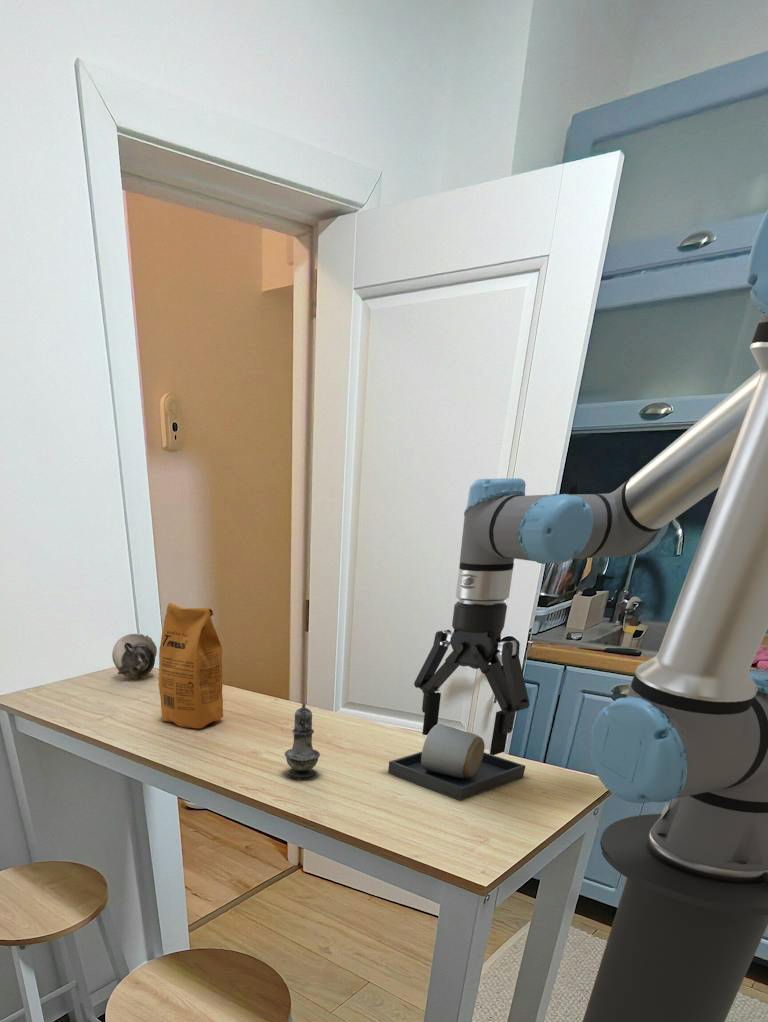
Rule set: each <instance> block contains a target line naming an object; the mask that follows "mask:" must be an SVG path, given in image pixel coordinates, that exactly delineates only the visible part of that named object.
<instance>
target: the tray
mask: <svg viewBox="0 0 768 1022" xmlns="http://www.w3.org/2000/svg"><path fill="white" fill-rule="evenodd" d="M421 756H422V751H419V752H416V753H412V754H409V755H406V756H402V757H400V758H396V759H393V760H390V761H388V769H387V770H388V771H387V773H388V774H390V775H393V776H395V777H398V778H400V779H403V780H405V781H408V782H410V783H413V784H416V785H419V786H421V787H424V788H426V789H429V790H432V791H434V792H437V793H438V794H441V795H444V796H447V797H449V798H452V799H455V800H457V801H463V800H466V799H469V798H472V797H474V796H477V795H479V794H482V793H485V792H487V791H490V790H492V789H495V788H499V787H501V786H503V785H507V784H509V783H511V782H514V781H516V780H519V779H521V778H524V776H525V770H526V765H524V764H522V763H518V762H515V761H513V760H510V759H505V758H504V757H499V756H497V755H491V754H490V753H487V752H484V755H483V758H482V761H481V764H480V766H479V768H478V770H477V772H476V773H475V774H474V775H473V776H472V777H471V778H468V779H461V778H456V777H452V776H449V775H444V774H439V773H435V772H431V771H427V770H424V769H423V767H422V764H421Z"/></svg>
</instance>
